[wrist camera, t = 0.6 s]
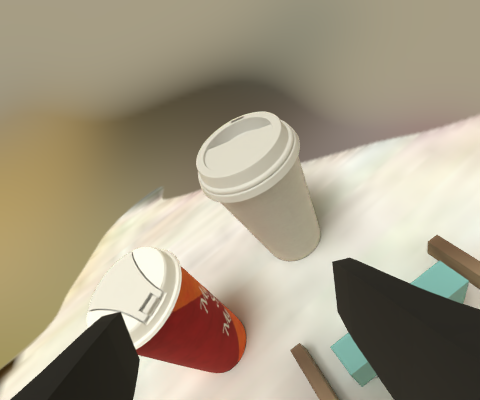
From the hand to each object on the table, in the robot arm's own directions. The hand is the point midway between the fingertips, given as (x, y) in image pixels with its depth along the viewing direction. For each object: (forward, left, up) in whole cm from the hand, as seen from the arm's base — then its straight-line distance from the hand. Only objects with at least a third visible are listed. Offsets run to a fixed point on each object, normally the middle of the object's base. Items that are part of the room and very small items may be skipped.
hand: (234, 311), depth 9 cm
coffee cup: (+15, -5, -19) cm, 24 cm away
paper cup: (+10, +8, -19) cm, 22 cm away
